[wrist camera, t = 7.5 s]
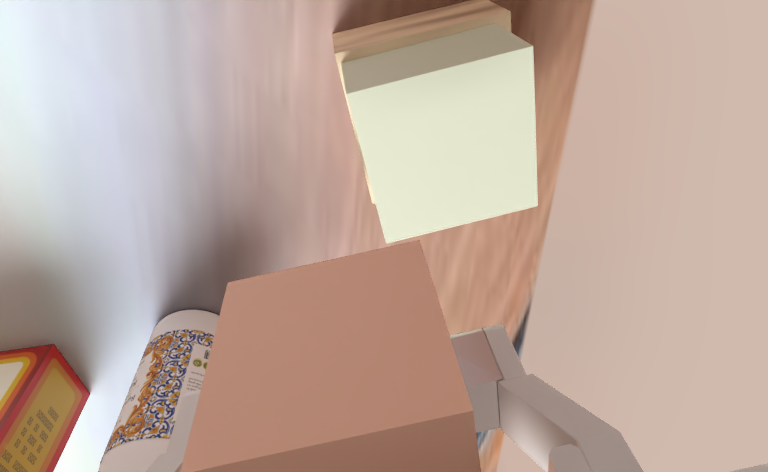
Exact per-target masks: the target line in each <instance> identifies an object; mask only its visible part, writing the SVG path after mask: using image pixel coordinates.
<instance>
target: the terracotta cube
mask: <svg viewBox="0 0 768 472" xmlns="http://www.w3.org/2000/svg"><path fill="white" fill-rule="evenodd" d="M180 472H481V468H480V460H479V452H478V444H477V436H476V428H475V420H474V412H473V408H472V405H471V402H470V398H469V395H468V392H467V389H466V386H465V383H464V379H463V376H462V373H461V370H460V367H459V364H458V360H457V357H456V354H455V351H454V348H453V345H452V341H451V338H450V335H449V332H448V329H447V326H446V322H445V319H444V316H443V313H442V310H441V307H440V303H439V300H438V297H437V294H436V291H435V288H434V284H433V281H432V278H431V275H430V272H429V269H428V266H427V262H426V259H425V256H424V253H423V250H422V247H421V243H420V240H417V241H413V242H408V243H404V244H399V245H395V246H390V247H385V248H381V249H376V250H372V251H367V252H363V253H358V254H354V255H349V256H345V257H340V258H336V259H331V260H327V261H322V262H318V263H313V264H309V265H304V266H300V267H295V268H291V269H286V270H282V271H277V272H272V273H268V274H263V275H259V276H254V277H250V278H245V279H241V280H236V281H232V282H228V283H227V287H226V291H225V295H224V299H223V303H222V307H221V311H220V315H219V319H218V323H217V327H216V331H215V335H214V339H213V343H212V347H211V351H210V355H209V359H208V363H207V367H206V371H205V375H204V379H203V383H202V387H201V391H200V395H199V399H198V403H197V407H196V411H195V415H194V419H193V423H192V427H191V431H190V435H189V439H188V443H187V447H186V451H185V455H184V459H183V463H182V467H181V471H180Z"/></svg>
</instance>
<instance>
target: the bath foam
mask: <svg viewBox="0 0 768 472" xmlns="http://www.w3.org/2000/svg"><path fill="white" fill-rule="evenodd" d="M218 319H219V315H217V314H214V313H211V312H208V311H203V310H183V311H178V312H175V313H172V314H170V315H168V316H166V317H165V318H163V319H162V320H161V321H160V322H159V323H158V324H157V325H156V326H155V328H154V330H153V332H152V335H151V337H150V340H149V342H148V345H147V347H146V349H145V352H144V354H143V357H142V359H141V362H140V364H139V367H138V369H137V372H136V374H135V377H134V379H133V382H132V384H131V387H130V389H129V392H128V394H127V397H126V399H125V402H124V404H123V407H122V409H121V412H120V415H119V417H118V420H117V422H116V425H115V427H114V430H113V432H112V435H111V437H110V440H109V442H108V445H107V447H106V450H105V452H104V455H103V457H102V460H101V463H100V467H99V471H98V472H146V470H147V469H148V468H149V467H150V466H151V465H152V464H153V462H154V461H155V460H156V459H157V458H158V457H159V455H161V454H165V453H166V452H167V448H168V445H169V441H170V438H171V434H172V431H173V427H174V424H175V420H176V417H177V414H178V410H179V407H180V403H181V400H182V398H183V396H184V395H185V393H186V392H190V391H195V390H200V389H201V387H202V383H203V379H204V375H205V371H206V367H207V363H208V359H209V355H210V351H211V347H212V343H213V339H214V335H215V331H216V327H217V323H218Z"/></svg>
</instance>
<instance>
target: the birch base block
mask: <svg viewBox="0 0 768 472" xmlns="http://www.w3.org/2000/svg"><path fill="white" fill-rule="evenodd" d="M494 23H496V24H498V25H499V26H501V27H503V28H504V29H506V30H508V31H509V32H511V11H509V10H507V9H505V8H503V7H501V6H499V5H497V4H495V3H493V2H491V1H489V0H470V1H465V2H461V3H457V4H453V5H449V6H445V7H441V8H437V9H432V10H428V11H424V12H420V13H416V14H412V15H408V16H404V17H399V18H395V19H391V20H387V21H383V22H379V23H375V24H371V25H366V26H362V27H358V28H354V29H350V30H346V31H342V32H338V33H334V34H332V37H333V45H334V53H335V57H336V61H337V65H338V69H339V73H340V77H341V81H342V85H343V89H344V93H345V97H346V101H347V105H348V109H349V113H350V117H351V121H352V125H353V128H354V132H355V136H356V140H357V144H358V148H359V152H360V156H361V160H362V164H363V168H364V172H365V176H366V180H367V184H368V188H369V192H370V196H371V200H372V204H374V203H375V200H374V196H373V192H372V189H371V185H370V181H369V177H368V174H367V170H366V166H365V163H364V159H363V155H362V151H361V148H360V144H359V140H358V136H357V133H356V129H355V125H354V121H353V118H352V114H351V110H350V107H349V103H348V99H347V95H346V90H345V84H344V78H343V72H342V66H341V63H344V62H348V61H352V60H355V59H359V58H363V57H367V56H371V55H375V54H379V53H382V52H386V51H390V50H394V49H398V48H402V47H406V46H409V45H413V44H417V43H421V42H425V41H429V40H433V39H436V38H440V37H444V36H448V35H452V34H456V33H460V32H463V31H467V30H471V29H475V28H479V27H483V26H487V25H490V24H494Z"/></svg>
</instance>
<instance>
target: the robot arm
mask: <svg viewBox="0 0 768 472" xmlns="http://www.w3.org/2000/svg"><path fill="white" fill-rule="evenodd" d="M450 338H451V341H452V345H453V348H454V351H455V354H456V357H457V360H458V364H459V367H460V370H461V373H462V376H463V379H464V383H465V386H466V389H467V392H468V395H469V398H470V402H471V405H472V408H473V412H474V420H475V428H476V432H481V431H487V430H492V429H497V428H501V430H502V431H503V432H504V433H505V434H506V435H507V436H508V437H509V438H510V439H511V440H513V441H514V442H515V443H516V444H517V445H518V446H519V447H520V448H521V449H522V450H523V451H524V452H525V453H526V454H528V455H529V456H530V457H531V458H532V459H533V460H534V461H535V462H536V463H537V464H538V465H539V466H540V467H541V468H543V469H544V470H545V471H546V472H643V470H642V469H641V467H640V465H639V464H638V462H637V460H636V459H635V457H634V455H633V454H632V452H631V450H630V448H629V447H628V445H627V443H626V442H625V440H624V438H623V436H622V435H621V433H620V432H619V431H618V430H616V429H615V428H613V427H612V426H610V425H609V424H607V423H606V422H604V421H603V420H601V419H600V418H598V417H597V416H595V415H594V414H592V413H591V412H589V411H588V410H586V409H585V408H583V407H581V406H580V405H578V404H577V403H575V402H574V401H572V400H571V399H569V398H568V397H566V396H565V395H563V394H562V393H560V392H559V391H557V390H556V389H554V388H553V387H551V386H550V385H548V384H547V383H545V382H544V381H542V380H541V379H539V378H538V377H536V376H535V375H533V374H529V375H526V373H525V371H524V368H523V366H522V364H521V362H520V360H519V358H518V356H517V353H516V351H515V349H514V347H513V345H512V343H511V340H510V338H509V336H508V334H507V332H506V330H505V327H504V326H503V325H502V324H498V325H494V326H489V327H485V328H482V329H481V328H479V329H475V330H470V331H466V332H462V333H457V334H453V335H450ZM200 391H201V389H200V390H195V391H190V392H186V393H185V395H184V396H183V398H182V400H181V403H180V407H179V410H178V414H177V417H176V420H175V424H174V427H173V431H172V434H171V438H170V441H169V445H168V448H167V452H166V453H165V454H161V455H159V457H158V458H157V459H156V460H155V461H154V462H153V464H152V465H151V466H150V467H149V468H148V469H147V470H146V472H180V471H181V467H182V463H183V459H184V455H185V451H186V447H187V443H188V439H189V435H190V431H191V427H192V423H193V419H194V415H195V411H196V407H197V403H198V399H199V395H200ZM731 472H768V464H763V465H759V466H754V467H750V468H745V469H740V470H735V471H731Z"/></svg>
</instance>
